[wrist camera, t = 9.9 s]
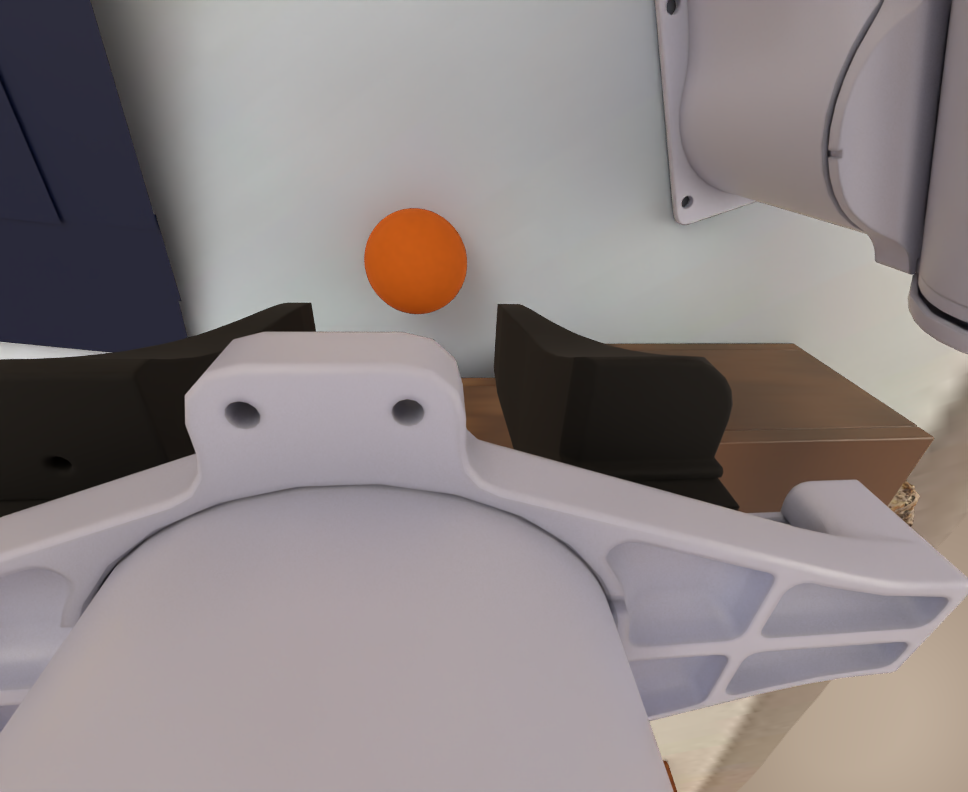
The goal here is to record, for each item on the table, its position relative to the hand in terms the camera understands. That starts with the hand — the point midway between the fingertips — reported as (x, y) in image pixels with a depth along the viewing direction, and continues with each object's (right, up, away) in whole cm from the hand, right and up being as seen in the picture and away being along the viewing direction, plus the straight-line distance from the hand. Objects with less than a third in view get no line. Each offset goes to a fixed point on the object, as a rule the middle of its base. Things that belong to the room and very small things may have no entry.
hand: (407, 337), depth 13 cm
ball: (-1, +4, +6) cm, 7 cm away
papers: (-22, +14, 0) cm, 26 cm away
